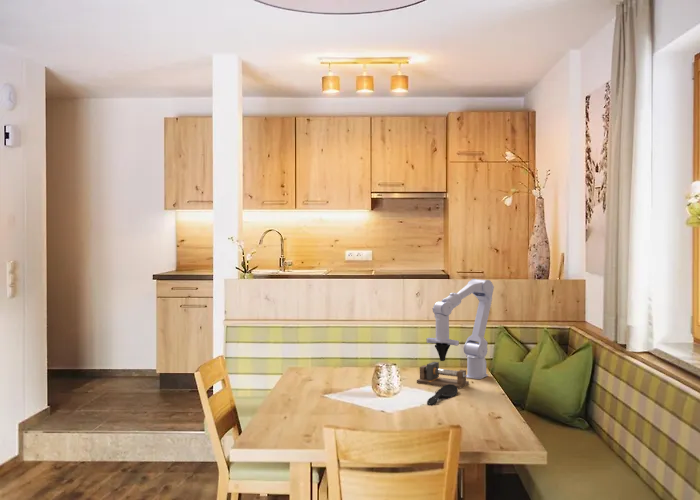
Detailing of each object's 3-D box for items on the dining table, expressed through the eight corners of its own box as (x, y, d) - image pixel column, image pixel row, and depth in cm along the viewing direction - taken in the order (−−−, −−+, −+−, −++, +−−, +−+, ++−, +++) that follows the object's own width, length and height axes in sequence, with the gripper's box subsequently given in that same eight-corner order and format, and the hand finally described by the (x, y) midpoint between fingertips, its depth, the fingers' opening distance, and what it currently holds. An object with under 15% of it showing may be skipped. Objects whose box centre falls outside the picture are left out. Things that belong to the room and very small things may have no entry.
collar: (433, 376, 298) (433, 361, 298) (438, 377, 297) (438, 362, 296) (426, 379, 292) (426, 364, 292) (431, 380, 291) (431, 364, 291)
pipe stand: (427, 378, 302) (427, 364, 301) (468, 384, 290) (468, 369, 290) (416, 382, 293) (416, 368, 293) (458, 388, 282) (458, 373, 282)
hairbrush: (418, 397, 258) (442, 381, 280) (419, 407, 259) (442, 389, 281) (439, 400, 254) (461, 383, 276) (439, 410, 255) (461, 392, 277)
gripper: (423, 329, 292) (423, 360, 292) (453, 332, 284) (453, 364, 284) (430, 327, 298) (430, 357, 298) (460, 329, 290) (460, 361, 290)
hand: (442, 360), depth 292 cm, fingers closed
